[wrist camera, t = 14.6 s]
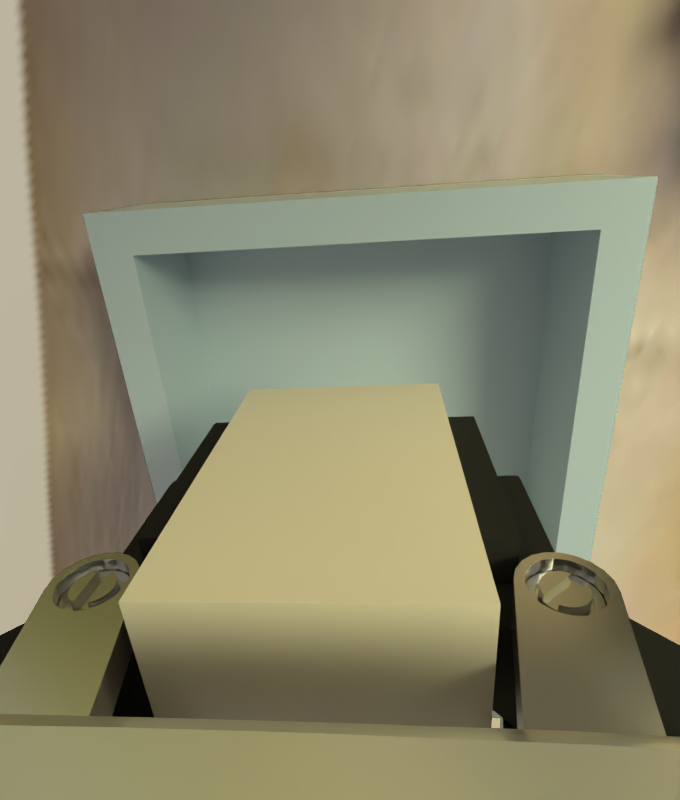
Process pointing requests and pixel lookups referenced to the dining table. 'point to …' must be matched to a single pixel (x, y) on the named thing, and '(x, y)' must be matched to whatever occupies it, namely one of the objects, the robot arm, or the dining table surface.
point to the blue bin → (391, 314)
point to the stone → (322, 570)
